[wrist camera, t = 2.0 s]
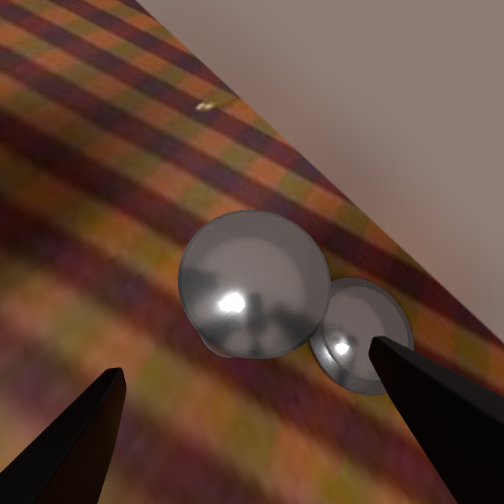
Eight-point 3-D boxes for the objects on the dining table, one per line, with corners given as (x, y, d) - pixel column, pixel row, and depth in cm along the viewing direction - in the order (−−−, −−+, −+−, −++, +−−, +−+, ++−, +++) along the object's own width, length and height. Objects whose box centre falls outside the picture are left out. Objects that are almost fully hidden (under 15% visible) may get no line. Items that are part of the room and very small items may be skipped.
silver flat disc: (428, 375, 19) (441, 377, 18) (328, 410, 17) (336, 413, 16) (379, 271, 22) (388, 267, 21) (291, 289, 20) (296, 285, 19)
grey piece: (272, 348, 18) (354, 336, 8) (204, 366, 17) (189, 381, 6) (256, 283, 20) (304, 202, 9) (193, 295, 19) (169, 218, 8)
